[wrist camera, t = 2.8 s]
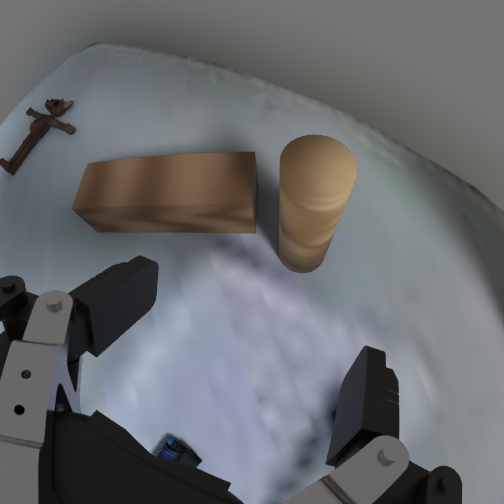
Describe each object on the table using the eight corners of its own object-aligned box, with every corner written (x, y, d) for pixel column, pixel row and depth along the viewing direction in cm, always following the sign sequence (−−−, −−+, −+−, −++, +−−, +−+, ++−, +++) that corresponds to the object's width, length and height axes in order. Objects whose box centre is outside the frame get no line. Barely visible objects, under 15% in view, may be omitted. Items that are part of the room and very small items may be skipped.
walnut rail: (258, 185, 29) (254, 151, 24) (255, 233, 27) (251, 204, 22) (109, 190, 30) (87, 163, 25) (97, 232, 28) (71, 209, 23)
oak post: (323, 229, 26) (351, 137, 15) (325, 273, 25) (362, 198, 14) (278, 228, 27) (279, 133, 16) (277, 272, 25) (279, 195, 14)
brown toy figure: (-14, 150, 33) (37, 83, 36) (0, 162, 37) (49, 97, 40) (18, 184, 29) (86, 94, 31) (38, 197, 33) (100, 113, 36)
